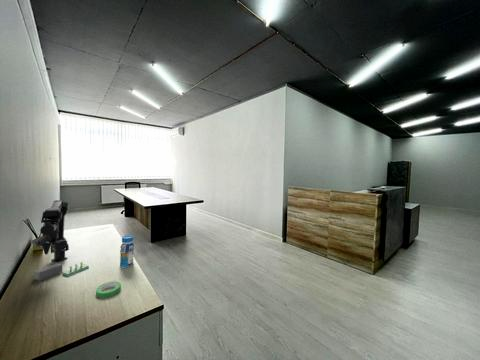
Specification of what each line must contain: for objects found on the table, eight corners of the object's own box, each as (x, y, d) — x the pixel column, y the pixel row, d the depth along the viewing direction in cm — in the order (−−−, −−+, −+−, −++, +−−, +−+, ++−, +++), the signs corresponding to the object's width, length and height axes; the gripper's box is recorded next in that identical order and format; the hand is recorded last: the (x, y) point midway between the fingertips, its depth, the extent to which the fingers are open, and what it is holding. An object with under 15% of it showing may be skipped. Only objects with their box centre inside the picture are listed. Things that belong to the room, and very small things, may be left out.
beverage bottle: (118, 264, 135) (119, 236, 135) (132, 261, 141) (133, 234, 140) (120, 269, 129) (121, 239, 128) (134, 266, 134) (135, 237, 134)
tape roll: (102, 301, 98) (102, 295, 98) (92, 293, 104) (92, 288, 104) (124, 290, 107) (124, 285, 107) (114, 283, 113) (114, 279, 113)
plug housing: (34, 279, 113) (34, 270, 113) (57, 270, 124) (57, 262, 123) (39, 281, 111) (39, 272, 111) (62, 272, 122) (62, 264, 122)
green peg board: (62, 274, 119) (62, 267, 119) (83, 266, 131) (83, 259, 131) (67, 276, 118) (67, 269, 118) (88, 267, 129) (88, 261, 129)
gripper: (24, 231, 112) (23, 258, 113) (45, 236, 107) (44, 264, 107) (48, 227, 123) (47, 251, 123) (68, 230, 117) (67, 256, 118)
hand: (51, 255), depth 118 cm, fingers open, 9 cm apart
